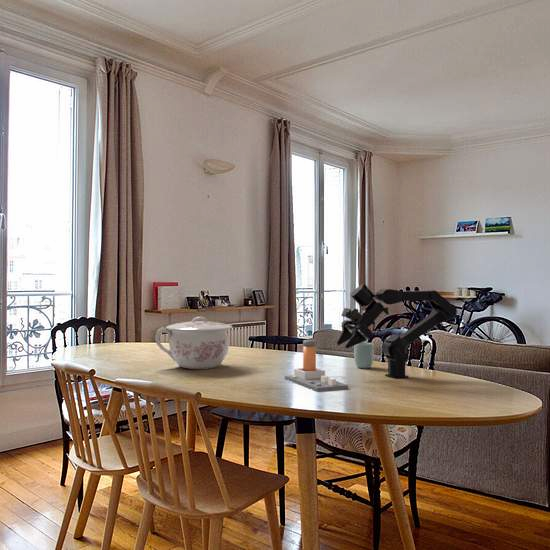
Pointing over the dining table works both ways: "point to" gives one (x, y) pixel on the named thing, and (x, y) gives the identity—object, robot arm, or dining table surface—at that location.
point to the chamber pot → (196, 343)
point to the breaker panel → (315, 380)
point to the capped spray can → (309, 355)
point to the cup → (363, 354)
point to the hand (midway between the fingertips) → (341, 346)
